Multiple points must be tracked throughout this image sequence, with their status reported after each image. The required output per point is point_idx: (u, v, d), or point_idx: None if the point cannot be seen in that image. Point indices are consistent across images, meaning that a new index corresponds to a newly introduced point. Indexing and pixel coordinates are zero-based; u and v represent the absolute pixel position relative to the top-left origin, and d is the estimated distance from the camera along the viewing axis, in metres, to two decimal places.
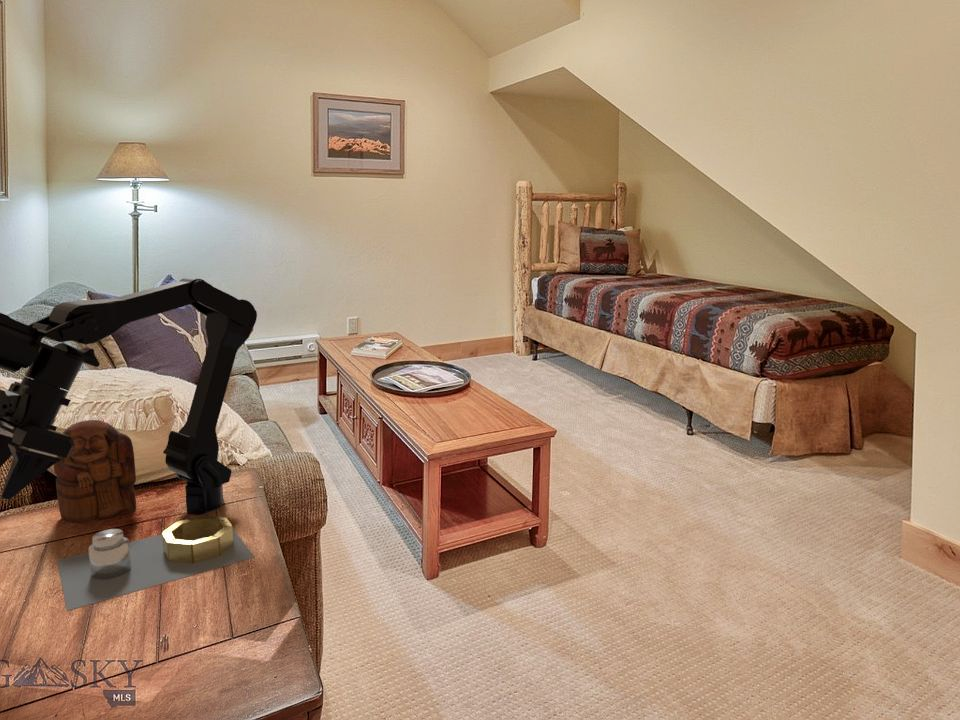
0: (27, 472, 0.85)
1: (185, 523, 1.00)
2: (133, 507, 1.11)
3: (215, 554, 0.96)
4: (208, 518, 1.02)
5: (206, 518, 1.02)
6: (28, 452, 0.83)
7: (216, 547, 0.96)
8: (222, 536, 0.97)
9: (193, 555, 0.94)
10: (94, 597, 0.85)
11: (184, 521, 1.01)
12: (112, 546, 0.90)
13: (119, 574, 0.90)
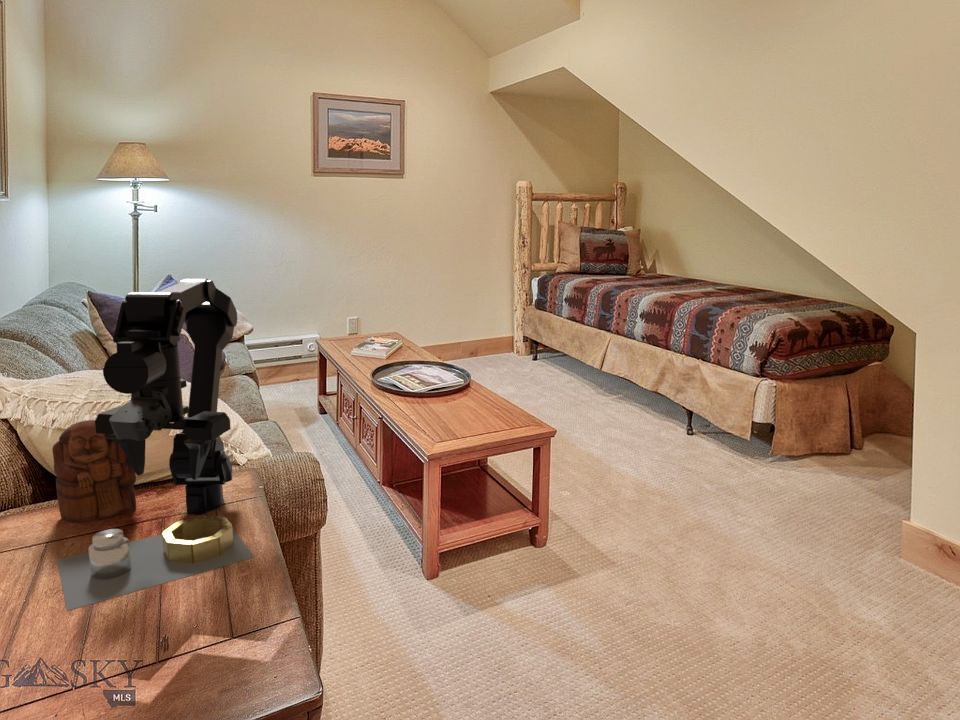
0: (202, 453, 0.96)
1: (185, 523, 1.00)
2: (133, 507, 1.11)
3: (215, 554, 0.96)
4: (208, 518, 1.02)
5: (206, 518, 1.02)
6: (208, 440, 0.93)
7: (216, 547, 0.96)
8: (222, 536, 0.97)
9: (193, 555, 0.94)
10: (94, 597, 0.85)
11: (184, 521, 1.01)
12: (112, 546, 0.90)
13: (119, 574, 0.90)
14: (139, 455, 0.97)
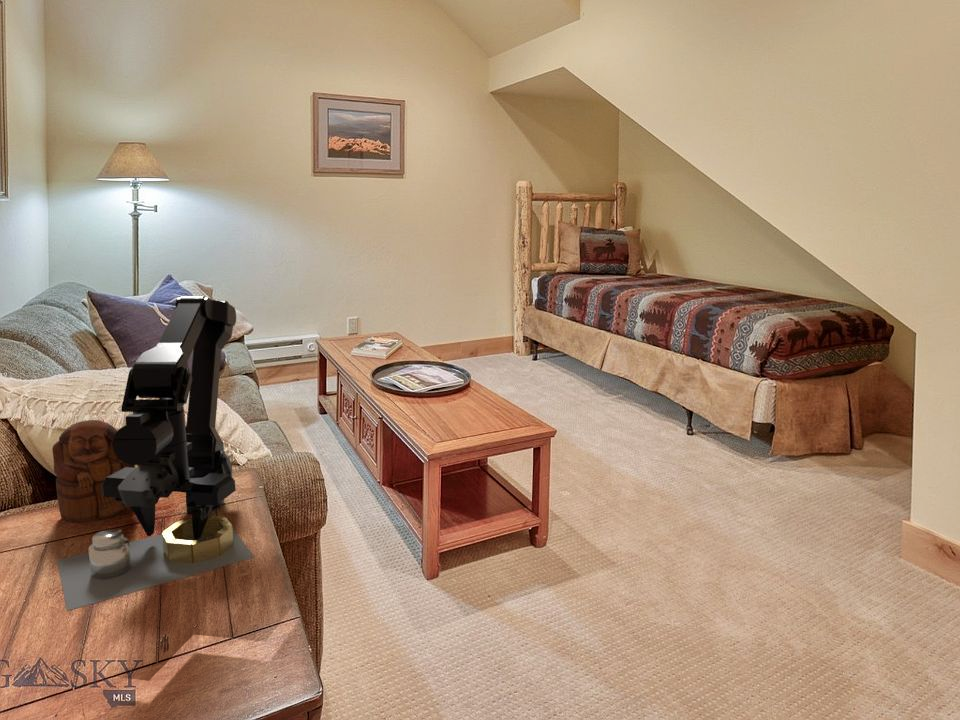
0: (204, 514, 0.98)
1: (185, 523, 1.00)
2: None
3: (215, 554, 0.96)
4: (208, 518, 1.02)
5: None
6: None
7: (216, 547, 0.96)
8: (222, 536, 0.97)
9: (193, 555, 0.94)
10: (94, 597, 0.85)
11: (184, 521, 1.01)
12: (112, 546, 0.90)
13: (119, 574, 0.90)
14: (149, 516, 0.99)
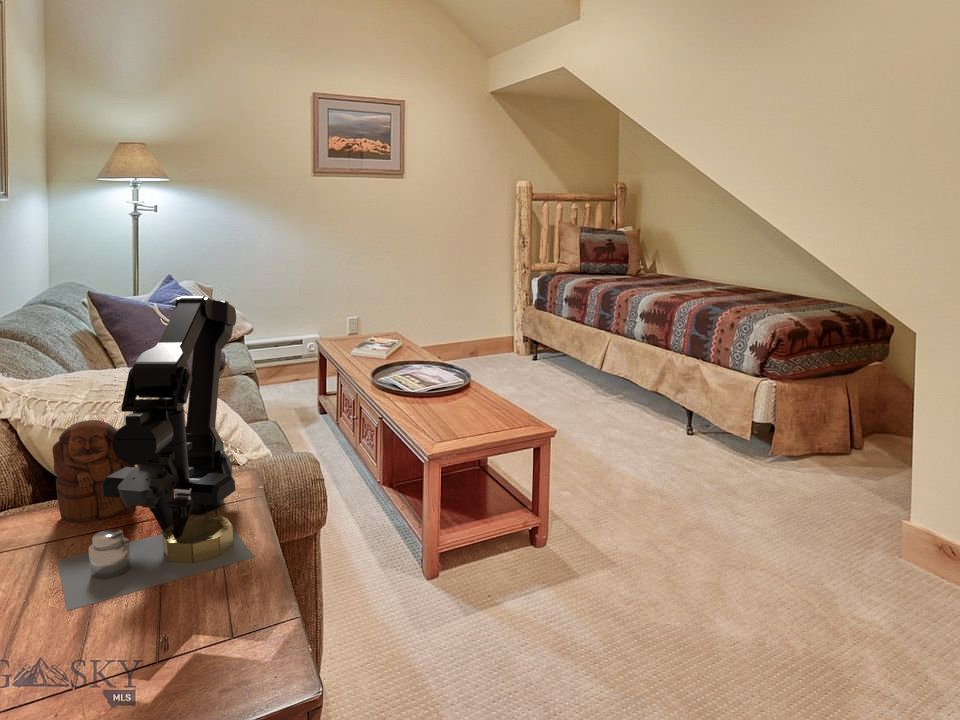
0: (185, 512, 0.99)
1: None
2: (133, 507, 1.11)
3: (215, 554, 0.96)
4: (208, 517, 1.02)
5: (206, 518, 1.02)
6: (190, 502, 0.96)
7: (216, 547, 0.96)
8: (222, 536, 0.97)
9: (193, 555, 0.94)
10: (94, 597, 0.85)
11: None
12: (112, 546, 0.90)
13: (119, 574, 0.90)
14: (168, 517, 0.99)
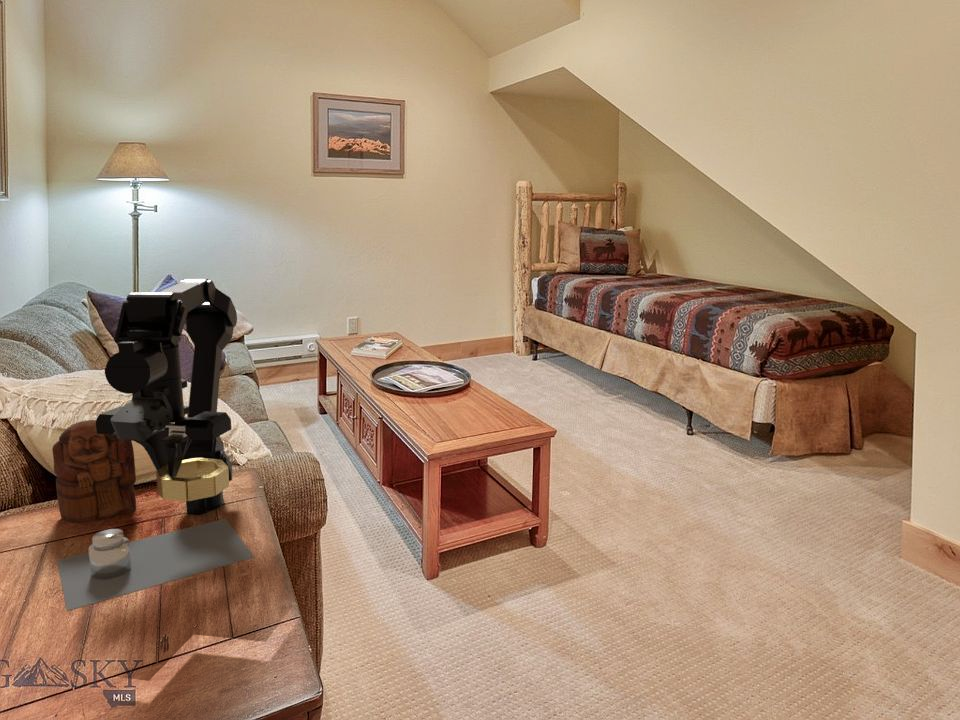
0: (180, 451, 0.97)
1: None
2: (133, 507, 1.11)
3: (210, 493, 0.94)
4: (204, 460, 1.00)
5: (201, 460, 1.00)
6: (185, 439, 0.94)
7: (211, 486, 0.94)
8: (218, 476, 0.95)
9: (188, 492, 0.92)
10: (94, 597, 0.85)
11: None
12: (112, 546, 0.90)
13: (119, 574, 0.90)
14: (163, 457, 0.97)
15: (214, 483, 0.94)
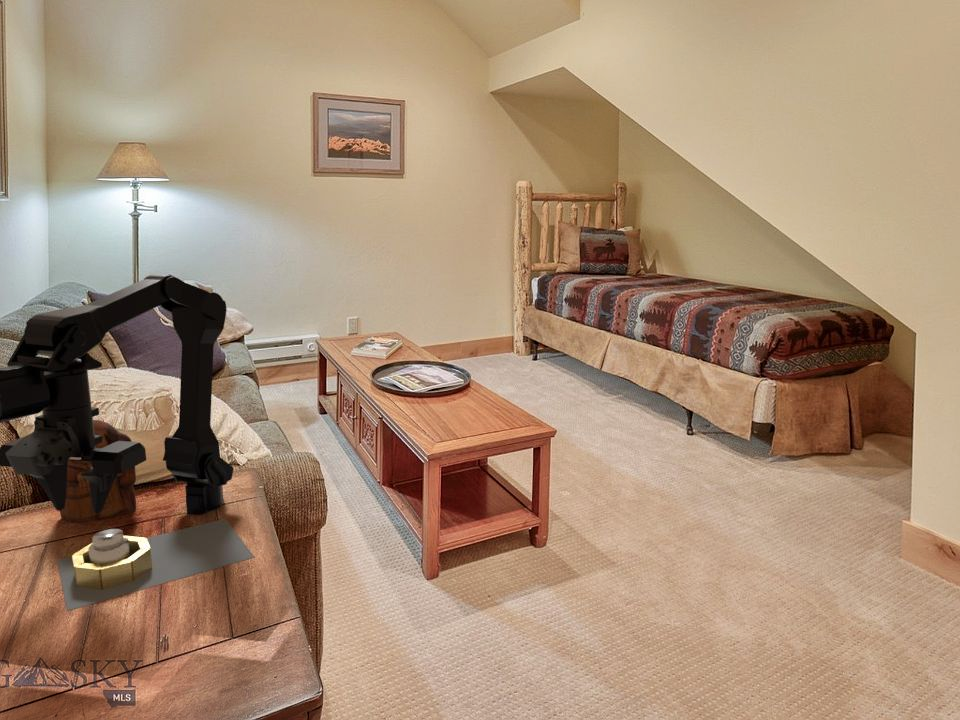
0: (105, 485, 0.90)
1: None
2: (133, 506, 1.11)
3: (128, 579, 0.89)
4: (127, 538, 0.95)
5: None
6: None
7: (129, 572, 0.89)
8: (136, 560, 0.89)
9: (102, 581, 0.87)
10: (94, 597, 0.85)
11: None
12: (112, 546, 0.90)
13: None
14: (59, 489, 0.91)
15: (132, 568, 0.89)
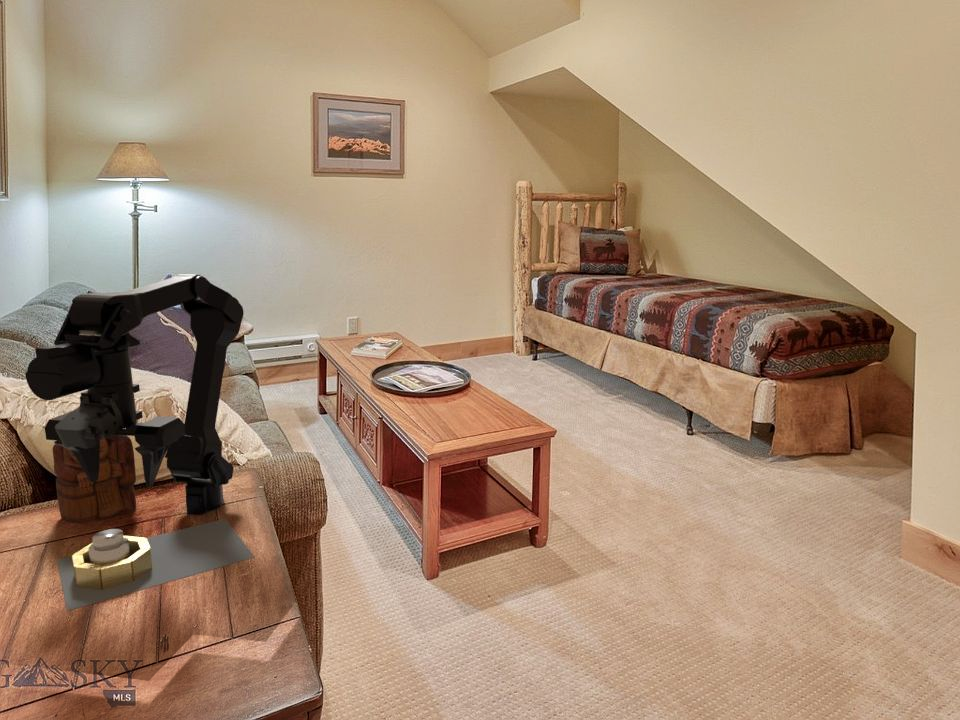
0: (156, 459, 0.94)
1: None
2: (133, 507, 1.11)
3: (128, 579, 0.89)
4: (127, 538, 0.95)
5: None
6: (160, 447, 0.91)
7: (129, 572, 0.89)
8: (136, 560, 0.89)
9: (102, 581, 0.87)
10: (94, 597, 0.85)
11: None
12: (112, 546, 0.90)
13: None
14: (93, 461, 0.95)
15: (132, 568, 0.89)
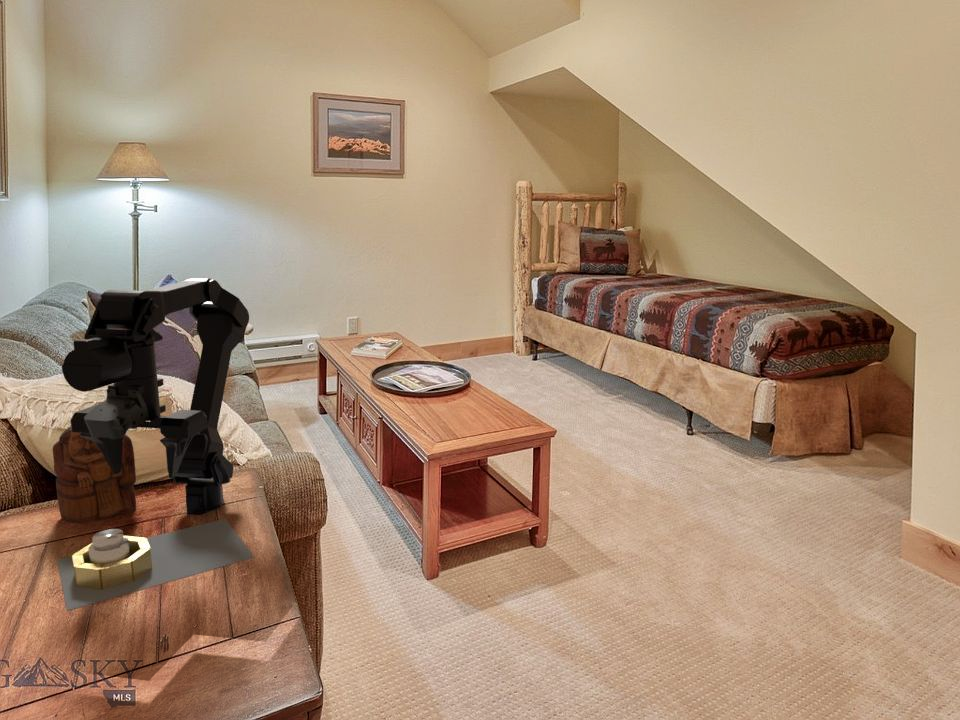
0: (179, 451, 0.96)
1: None
2: (133, 507, 1.11)
3: (128, 579, 0.89)
4: (127, 538, 0.95)
5: None
6: (184, 439, 0.93)
7: (129, 572, 0.89)
8: (136, 560, 0.89)
9: (102, 581, 0.87)
10: (94, 597, 0.85)
11: None
12: (112, 546, 0.90)
13: None
14: (116, 454, 0.97)
15: (132, 568, 0.89)
